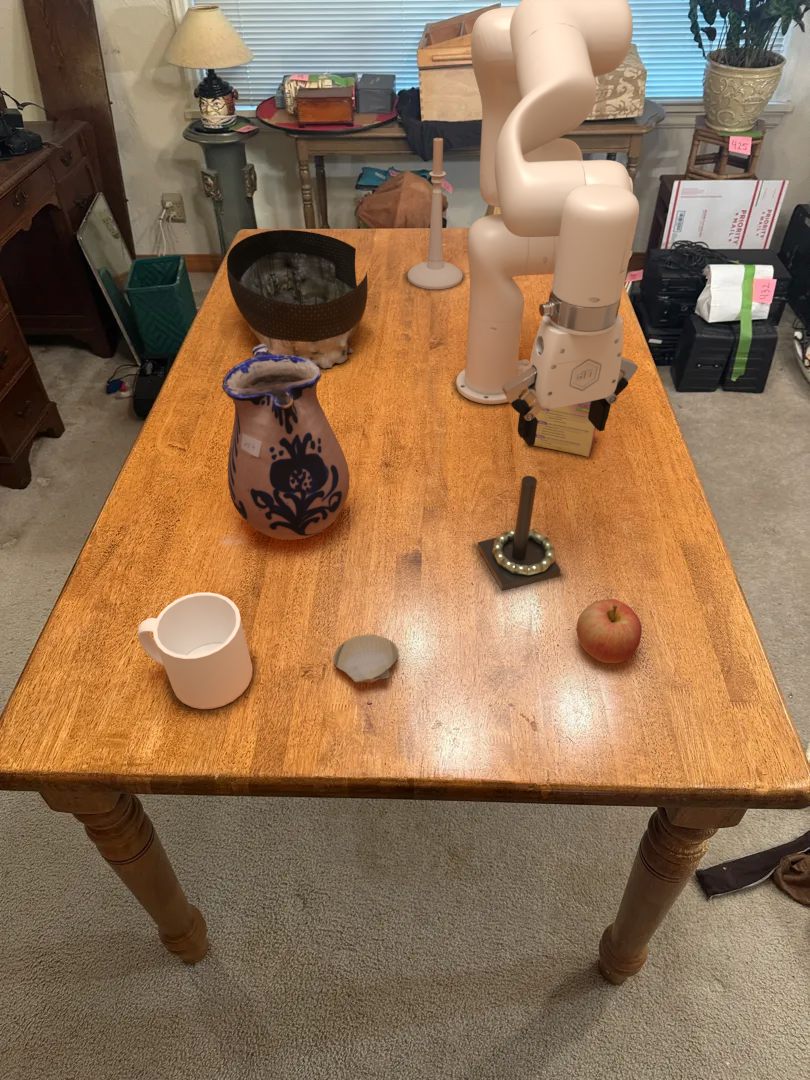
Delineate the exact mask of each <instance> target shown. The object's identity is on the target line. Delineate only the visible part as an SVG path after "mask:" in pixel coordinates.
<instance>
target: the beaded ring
mask: <svg viewBox="0 0 810 1080" xmlns="http://www.w3.org/2000/svg"><path fill="white" fill-rule="evenodd" d="M514 534H515V528H513V529H509V530H505V531H503V532H502V533H501V534H500V535H499V536H497V537H496V538H497V539H495V541H494V545H493V551H492V554H493V556H494V557H495V559H496V561H497V563H498V564H499V565H500V566H501V567H503V568H505V569H506V570H508V571H510V572H511V573H514V574H521V575H528V576H529V575H533V574H537V573H541V572H544V571H545V570H546V569H547V568H548V567H549V566H550V565H552V564H553V562H554V560H555V556H556V548H555V546H554V545H553V543H552V542H551V540H550V538H548V537H547V536H546V535H545V534H543V533H541V532H539V531H537V530H535V529H534V530H531V529H530V532H529V538H528V539H532V540H533V541H535V542H537V543H539V544H541V546H542V547H543V549H544V550H545V557H544V558H543V559H542V560H541V561H540V562H539V563H536V564H532V565H522V564H516V563H514V562H512V561H510V560H509V559H507V558H506V557H505V555H504V553H503V552H502V551H503V545H504V544H505V543H507V542H508V541H509V540H512V539H514Z"/></svg>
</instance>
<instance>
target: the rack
mask: <svg viewBox="0 0 810 1080" xmlns="http://www.w3.org/2000/svg"><path fill="white" fill-rule="evenodd" d="M537 485H538V479H537V478H536V477H535V476H533V475H525V476H523V477H522V478H521V483H520V489H519V490H520V491H519V496H518V497H519V498H518V505H517V513H516V519H515V526H514V527H515V528H514V529H515V534H514V539H512V540H509V541H508V542H507V543H505V544H504V545H503V551H502V552H503V553H504V555H505V557H506V558H507V559H509V560H510V561H512V562H514V563H516V564H522V565H532V564H536V563H539V562H540V561H541V560H542V559H543V558H544V557H545V550H544V549H543V547H542V546H541V544H539V543H537V542H535V541H533V540H532V539H528V538H529V532H530V530H535V529H534V528H532V529H531V524H532V517H533V511H534V504H535V498H536V491H537ZM497 538H498V537H494V538H490V539H485V540H481V541H478V542H477V549H478V551H479V553H480V554H481V556H482V558H483V560H484V561H485V563H486V565H487V567H488V569H489V570H490V573H491V574H492V575H493V576H492V577H494V579H495V581H496V583H497V585H498V586H499V588H500V590H501V591H505V590H508V589H513V588H517V587H520V586H524V585H525V586H526V585H528V584H532V583H536V582H541V581H544V580H548V579H553V578H556V577H559V576H561V572H562V570H561V568H560V566H559V565H558V564H557V562H556V560H555V559H554V562H553V564H552V565H550V566H549V567H548V568H547V569H546V570H545V571H544V572H541V573H537V574H533V575H529V576H528V575H521V574H514V573H511V572H510V571H508V570H506V569H505V568H503V567H501V566H500V565H499V564H498V563H497V561H496V559H495V557H494V556H493V554H492V551H493V545H494V541H495V539H497Z"/></svg>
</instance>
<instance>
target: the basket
mask: <svg viewBox="0 0 810 1080" xmlns="http://www.w3.org/2000/svg"><path fill="white" fill-rule="evenodd" d="M356 251H357V248H356V247H354V246H353V245H351V244H350V243H347V242H345V241H343V240H341V239H338V238H336V237H333V236H330V235H326V234H322V233H318V232H312V231H304V230H298V229H297V230H294V229H275V230H267V231H263V232H258V233H255V234H251V235H249V236H247V237H245V238H243V239H241V240H240V241H238V242H237V243H235V244H234V245H233V247H232V248H230V250H229V252H228V254H227V257H226V258H227V259H226V273H227V274H226V275H227V280H228V286H229V290H230V294H231V296H232V298H233V301H234V304H235V306H236V307H237V309H238V311H239V313H240V314H241V316H242V318H243V319H244V321H245V322H246V324H247V325H248V327H249V328H250V330H251V331H252V333H253V334H254V335H255V337H256V338H257V340H258V341H259V343H260V344H265V345H266V346H267V347H268V349H269V352H270V353H271V354H273V355H294V356H298V357H302V358H306V359H310V360H311V361H312V362H313V363H314V364H316V365H317V366H318V367H319V368H320V369H330V368H333V365H335V364H343V363H345V362H346V361H347V360H348V354H350V353H351V354H353V352H354V349H353V348H352V347H350V346H349V344H350V342H351V341H352V338H353V336H354V334H355V333H356V331H357V329H358V327H359V325H360V323H361V321H362V319H363V317H364V314H365V310H366V307H367V301H368V290H369V289H368V288H369V286H368V285H369V283H368V282H369V281H368V271H366V273H365V276H364V277H363V278H362V280H361V281H360V282H359V283H358V284H357V275H356V253H357V252H356Z"/></svg>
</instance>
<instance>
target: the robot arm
mask: <svg viewBox="0 0 810 1080" xmlns="http://www.w3.org/2000/svg"><path fill="white" fill-rule="evenodd" d="M633 22H634V21H633V13H632V9H631V7H630V3H629V1H628V0H521V1H519V3H518V5H515V6H504V7H498V8H493V9H490V10H487V11H485V12H483V13H481V14H480V15H478V17H477V19H475V21H474V24H473V27H472V30H471V36H470V37H471V39H470V56H471V65H472V69H473V73H474V77H475V81H476V84H477V88H478V92H479V96H480V103H481V113H482V114H481V115H482V116H481V117H482V118H481V132H480V133H481V134H480V152H479V153H480V154H479V191H480V192H479V193H480V196H481V198H482V200H483V201H484V202H485V204H487V205H488V206H491V207H494V208H499V212H500V213H496V214H490V215H485V216H482V217H479V218H478V219H476V220H475V221H474V222H473V223H472V224H471V225H470V227H469V229H468V232H467V238H466V239H467V240H466V249H467V259H468V271H469V297H468V318H467V332H466V334H467V335H466V351H465V352H466V353H465V368H464V369H463V370H461V371H460V372H458V374H457V377H456V379H455V386H456V390H457V391H458V393H459V394H460V395H461V396H462V397H464V398H466V399H467V400H469V401H472V402H475V403H478V404H483V405H501V404H507V403H508V404H510V406H511V408H512V409H513V410H514V411H515V412H517V413H518V420H517V434H518V436H519V438H520V439H523V441H524V442H525V443H526V445H527V447H533V446H534V444H535V438H536V431H537V425H538V420H537V418H536V417H535V416H536V415H537V414H538V413H539V412H540V410H541V409H542V408H546V409H554V408H560V407H565V406H570V405H575V404H580V403H585V402H590V401H591V404H590V409H589V414H588V419H589V421H590V422H591V423H592V424H593V425H594V427H595V428H596V431H599V432H603V431H605V429H606V426H607V425H606V424H607V420H608V419H609V415H610V410H611V406H612V405H613V404H615V403H616V402H617V400H618V395H620V394H621V393H622V392H623V391H624V390H625V389H626V388H627V387H628V385H629V381H630V380H631V379H632V378H633V376H634V375H635V374H636V372H637V371H638V369H639V366H638V365H637V364H636V363H635V362H634V361H633V360H632V359H630V358H627V357H624V356H623V351H624V350H623V349H624V348H623V347H624V322H623V321H624V320H623V317H622V316H621V314H619V310H620V305H621V301H622V295H623V290H624V285H625V281H626V277H627V271H628V267H629V263H630V259H631V254H632V253H631V252H632V248H633V245H634V239H635V235H636V230H637V225H638V220H639V215H640V204H639V203H640V202H639V201H638V198H637V196H636V195H635V194H634V184H633V179H632V177H631V176H630V174H629V171H628V170H627V168H626V167H625V165H623V164H622V163H620V162H618V161H616V160H610V159H596V160H595V159H594V160H592V159H591V160H584V159H583V153H582V150H581V148H580V146H579V144H577V143H576V142H575V141H573V140H572V139H569V138H563V136H565V135H567V134H569V133H571V132H572V131H574V130H575V129H577V128H578V127H579V126H580V125H581V124H583V122H585V120H586V119H587V118H588V117H589V115H590V114H591V113H592V111H593V109H594V107H595V104H596V100H597V92H598V91H597V83H596V80H595V78H597V77H601V76H604V75H608V74H610V73H612V72H614V71H616V70H617V69H619V67H620V66H621V65H622V64H623V63H624V61H626V58H627V57H628V54H629V52H630V48H631V45H632V40H633V35H634V34H633V31H634V30H633V29H634V24H633ZM537 275H538V276H539V275H543V276H544V275H553V276H552V277H553V278H552V284H551V291H550V292H549V296H548V301H545V303H544V302H543V303H540V304H539V307H538V312H539V315H540V316H541V317H542V319H541V321H540V324H539V327H538V330H537V332H536V335H535V338H534V343H533V346H532V350H531V354H530V359H528V358H524V359H520V360H519V354H520V346H521V345H520V344H521V338H522V337H521V336H522V329H523V320H524V311H525V297H524V294H523V292H522V289H521V288H520V286H519V285H518V283H517V282H516V281H515V280H514V279H513V278H514V277H522V276H537ZM525 389H527V390H526V392H525V393H524V394H523V396H521V394H522V393H523V391H524V390H525ZM520 396H521V397H520ZM535 398H536V399H537V400H536V401H535ZM533 401H534V402H533ZM532 402H533V403H532ZM531 403H532V404H531ZM530 404H531V405H530Z"/></svg>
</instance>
